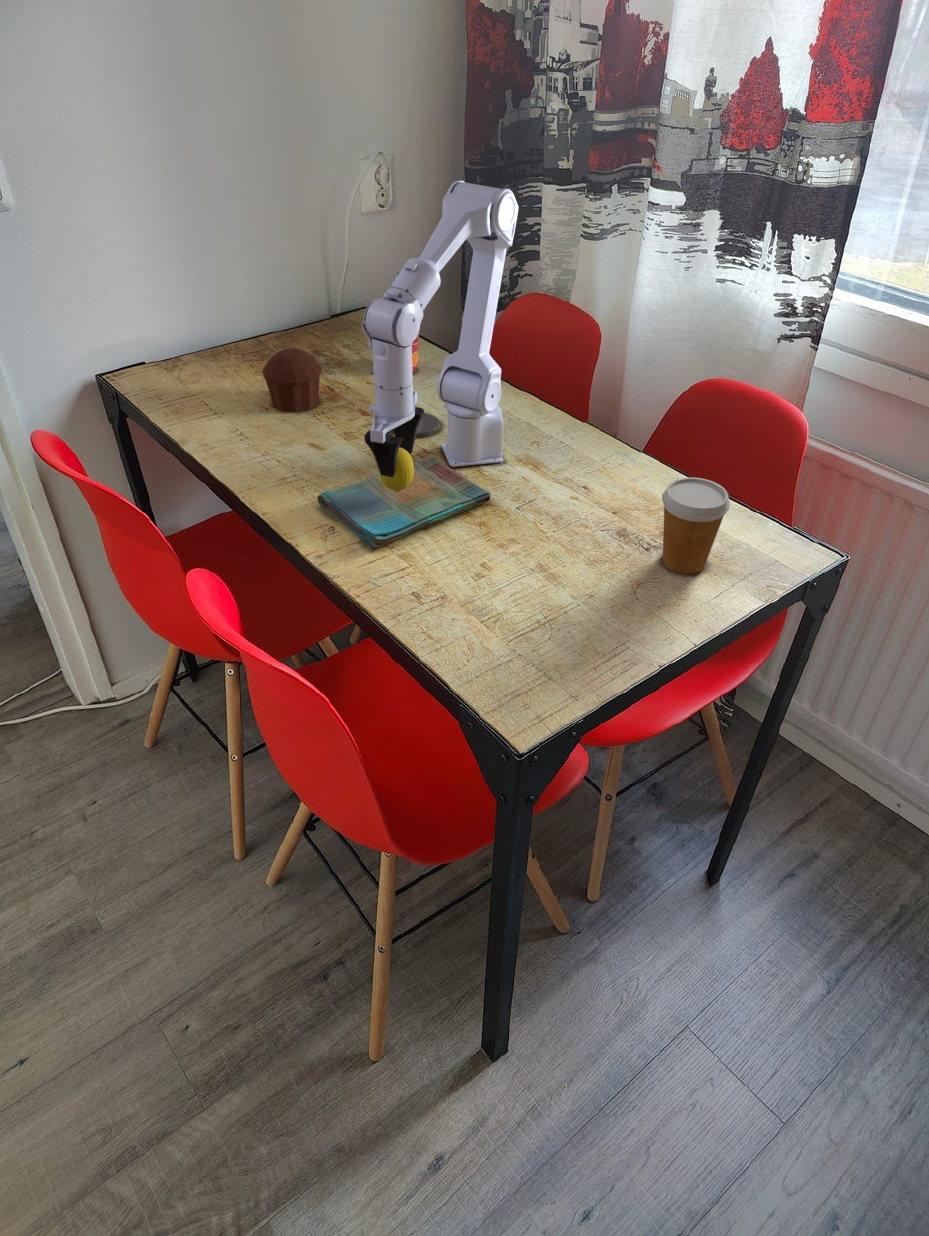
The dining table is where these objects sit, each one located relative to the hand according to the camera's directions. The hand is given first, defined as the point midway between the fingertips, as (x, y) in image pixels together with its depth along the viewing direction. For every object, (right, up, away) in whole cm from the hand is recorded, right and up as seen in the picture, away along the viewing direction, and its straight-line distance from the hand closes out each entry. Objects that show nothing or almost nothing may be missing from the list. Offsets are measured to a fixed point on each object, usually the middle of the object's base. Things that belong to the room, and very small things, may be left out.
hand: (396, 463), depth 142 cm
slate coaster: (+2, +12, +27) cm, 29 cm away
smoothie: (-2, +28, +47) cm, 54 cm away
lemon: (0, -4, +3) cm, 5 cm away
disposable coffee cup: (+44, -16, -7) cm, 47 cm away
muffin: (-22, +18, +34) cm, 45 cm away
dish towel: (+1, -6, +5) cm, 8 cm away
